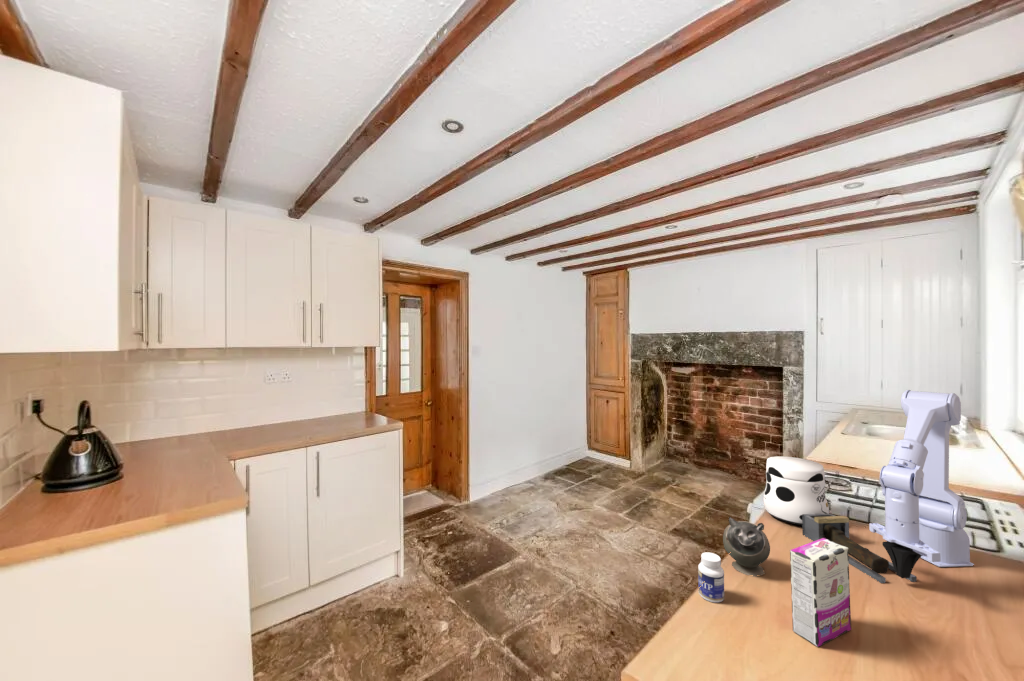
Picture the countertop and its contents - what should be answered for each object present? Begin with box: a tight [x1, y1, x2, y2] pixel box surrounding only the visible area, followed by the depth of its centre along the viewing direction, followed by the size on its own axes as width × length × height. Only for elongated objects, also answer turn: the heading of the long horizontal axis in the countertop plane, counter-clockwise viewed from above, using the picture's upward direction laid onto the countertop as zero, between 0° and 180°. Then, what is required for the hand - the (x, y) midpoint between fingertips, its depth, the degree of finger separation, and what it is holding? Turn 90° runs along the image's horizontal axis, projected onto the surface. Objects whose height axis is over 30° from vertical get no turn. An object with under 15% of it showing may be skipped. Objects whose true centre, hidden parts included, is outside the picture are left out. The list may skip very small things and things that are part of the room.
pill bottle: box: [697, 551, 725, 603], centre depth 91 cm, size 5×5×9 cm
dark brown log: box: [823, 524, 890, 574], centre depth 108 cm, size 19×4×5 cm, turn 176°
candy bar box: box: [789, 537, 852, 648], centre depth 79 cm, size 11×5×16 cm, turn 114°
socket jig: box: [801, 512, 918, 584], centre depth 107 cm, size 9×24×7 cm, turn 3°
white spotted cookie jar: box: [762, 455, 830, 526], centre depth 129 cm, size 17×17×18 cm
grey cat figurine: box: [722, 516, 771, 577], centre depth 101 cm, size 10×12×10 cm
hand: (902, 576), depth 94 cm, fingers closed
